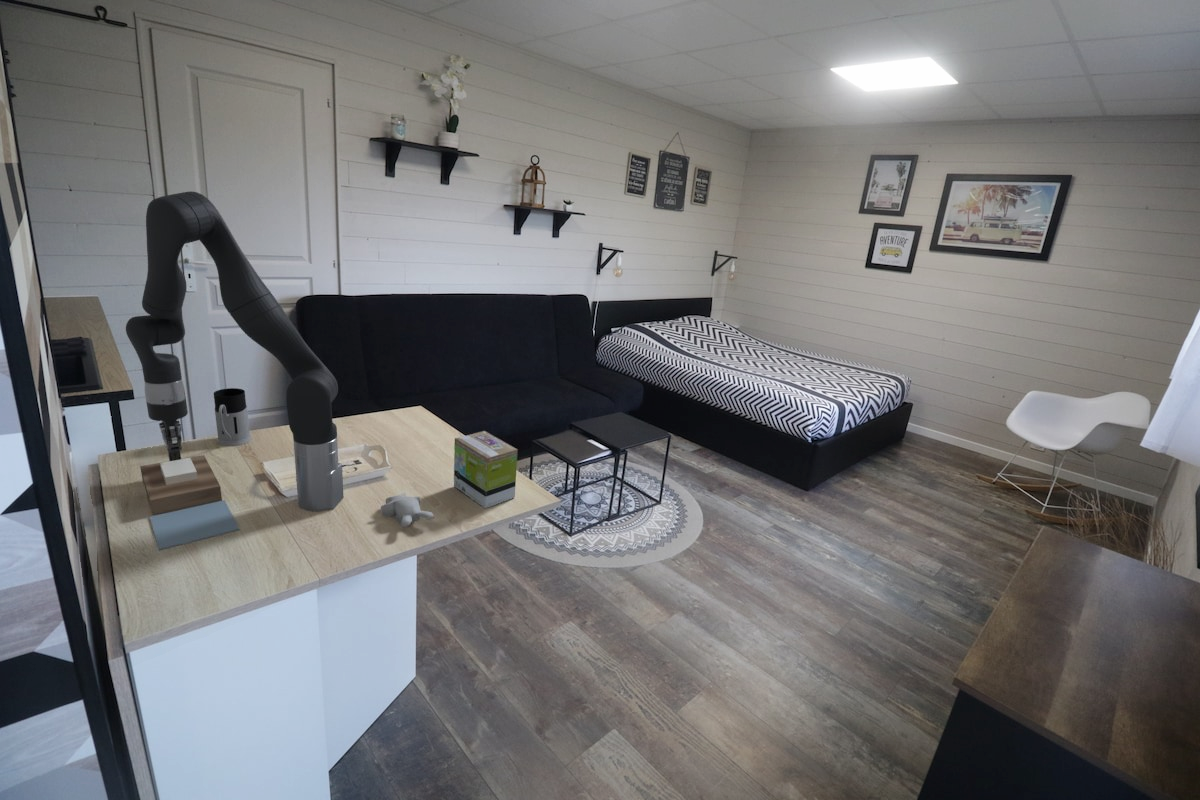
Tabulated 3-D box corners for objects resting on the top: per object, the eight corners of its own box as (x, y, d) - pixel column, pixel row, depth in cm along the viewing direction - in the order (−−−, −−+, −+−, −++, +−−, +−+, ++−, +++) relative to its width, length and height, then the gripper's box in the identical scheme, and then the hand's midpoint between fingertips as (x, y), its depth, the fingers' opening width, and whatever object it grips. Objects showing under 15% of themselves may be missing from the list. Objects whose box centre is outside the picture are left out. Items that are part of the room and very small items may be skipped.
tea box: (452, 487, 150) (453, 436, 145) (483, 477, 157) (484, 429, 153) (484, 510, 141) (487, 456, 136) (516, 498, 148) (519, 447, 143)
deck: (142, 480, 137) (140, 466, 136) (206, 469, 146) (204, 455, 144) (152, 516, 123) (150, 500, 122) (222, 500, 132) (220, 485, 131)
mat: (150, 517, 123) (149, 516, 123) (224, 501, 132) (224, 500, 132) (159, 550, 112) (158, 548, 112) (239, 529, 122) (239, 528, 122)
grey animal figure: (411, 486, 140) (438, 505, 129) (412, 505, 141) (439, 525, 131) (373, 495, 134) (398, 516, 123) (375, 515, 135) (400, 537, 124)
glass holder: (255, 434, 169) (250, 387, 164) (242, 453, 156) (237, 403, 151) (221, 435, 166) (216, 387, 161) (206, 454, 153) (199, 403, 148)
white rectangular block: (161, 470, 135) (159, 462, 134) (191, 465, 139) (190, 457, 138) (166, 485, 129) (165, 477, 128) (197, 479, 133) (196, 471, 132)
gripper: (142, 391, 134) (153, 456, 140) (149, 408, 125) (160, 477, 131) (181, 387, 139) (189, 450, 145) (189, 404, 130) (198, 470, 136)
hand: (175, 463), depth 138 cm, fingers closed
